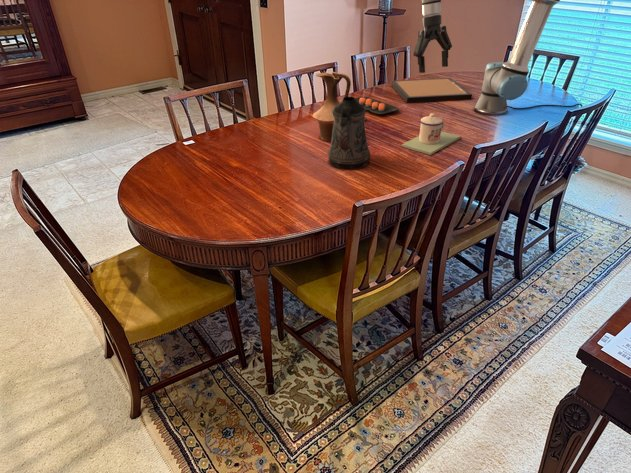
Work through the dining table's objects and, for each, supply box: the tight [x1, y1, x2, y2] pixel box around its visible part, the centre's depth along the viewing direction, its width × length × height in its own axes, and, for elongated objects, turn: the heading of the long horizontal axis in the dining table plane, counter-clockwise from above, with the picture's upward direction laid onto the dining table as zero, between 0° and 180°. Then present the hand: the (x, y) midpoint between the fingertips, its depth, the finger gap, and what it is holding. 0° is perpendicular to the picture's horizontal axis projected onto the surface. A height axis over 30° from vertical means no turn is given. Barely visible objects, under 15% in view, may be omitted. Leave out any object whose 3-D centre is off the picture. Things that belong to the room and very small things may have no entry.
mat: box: [401, 130, 461, 156], centre depth 185 cm, size 24×14×1 cm, turn 136°
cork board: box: [391, 77, 473, 104], centre depth 247 cm, size 36×3×35 cm
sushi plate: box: [354, 96, 400, 122], centre depth 222 cm, size 29×30×4 cm
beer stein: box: [327, 96, 371, 171], centre depth 164 cm, size 16×19×25 cm
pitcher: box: [312, 71, 352, 142], centre depth 186 cm, size 18×17×28 cm
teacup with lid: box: [418, 112, 445, 144], centre depth 182 cm, size 12×9×12 cm
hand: (433, 69), depth 188 cm, fingers open, 13 cm apart
